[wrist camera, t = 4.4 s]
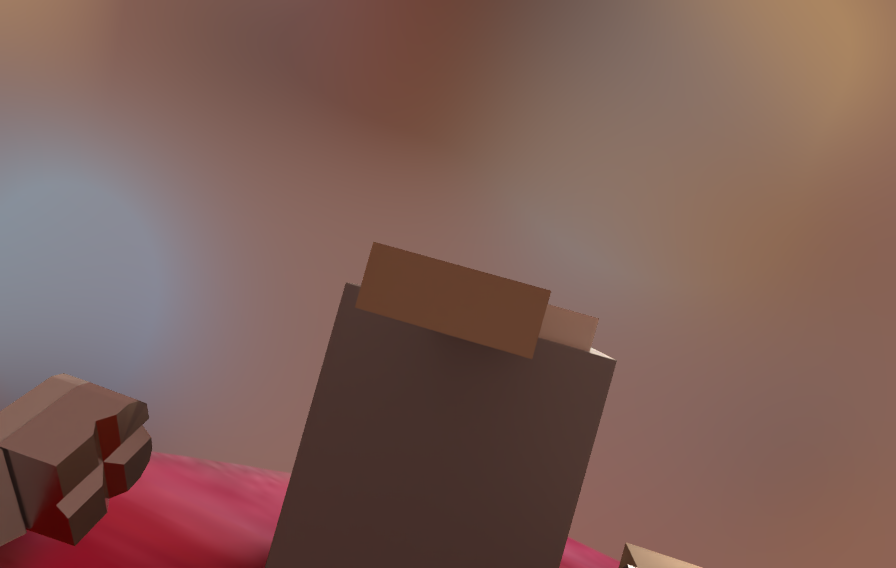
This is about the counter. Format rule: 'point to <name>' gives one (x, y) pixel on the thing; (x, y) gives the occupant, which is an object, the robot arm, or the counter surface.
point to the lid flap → (467, 303)
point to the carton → (438, 450)
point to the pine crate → (649, 559)
